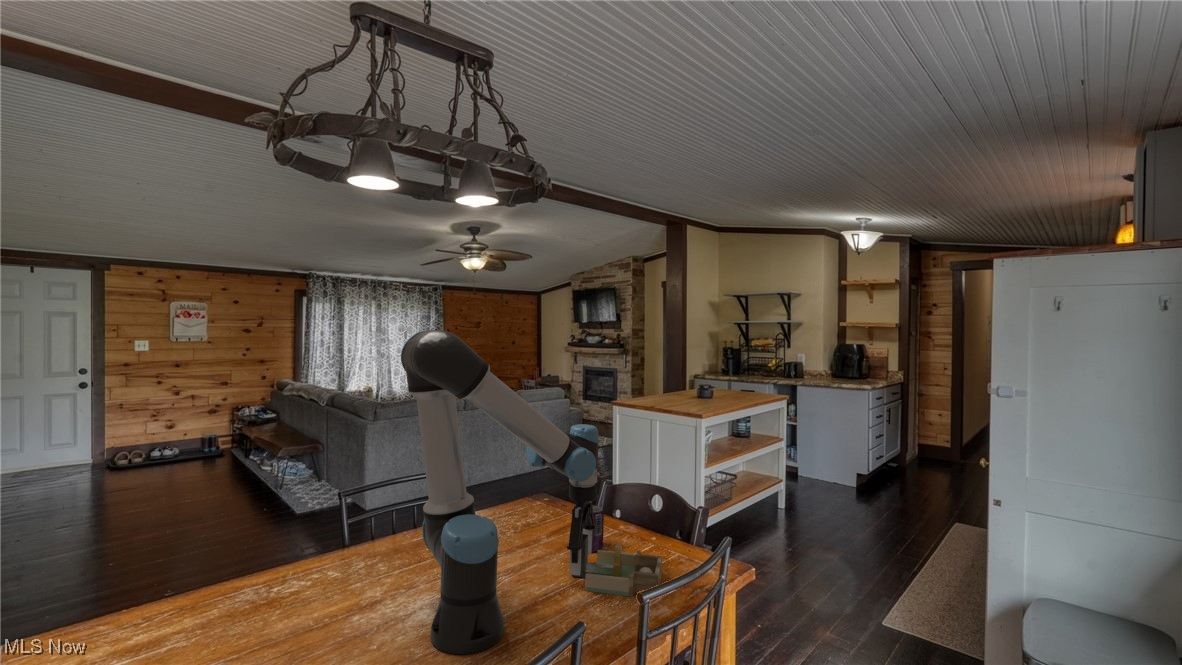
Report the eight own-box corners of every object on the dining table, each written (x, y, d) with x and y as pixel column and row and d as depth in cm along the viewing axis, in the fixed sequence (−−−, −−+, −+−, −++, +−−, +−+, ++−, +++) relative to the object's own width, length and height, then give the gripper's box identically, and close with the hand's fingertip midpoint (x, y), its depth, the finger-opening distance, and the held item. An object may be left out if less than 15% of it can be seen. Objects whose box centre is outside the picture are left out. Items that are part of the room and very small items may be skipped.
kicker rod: (618, 584, 137) (619, 545, 137) (570, 578, 139) (571, 539, 139) (622, 574, 142) (622, 536, 142) (575, 568, 145) (576, 531, 145)
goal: (657, 600, 129) (657, 579, 129) (628, 596, 131) (629, 576, 131) (662, 571, 145) (662, 553, 145) (636, 568, 147) (637, 550, 147)
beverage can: (603, 544, 163) (604, 505, 163) (602, 554, 156) (603, 513, 156) (580, 543, 163) (581, 504, 163) (578, 552, 156) (579, 511, 156)
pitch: (628, 596, 131) (629, 580, 131) (585, 590, 133) (585, 574, 133) (636, 568, 147) (637, 554, 147) (597, 564, 149) (598, 549, 149)
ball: (640, 568, 136) (634, 582, 137) (655, 575, 136) (649, 589, 136) (642, 561, 140) (636, 575, 141) (656, 569, 139) (650, 582, 140)
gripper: (586, 498, 129) (584, 586, 129) (605, 472, 153) (603, 546, 153) (557, 495, 130) (554, 582, 130) (580, 470, 155) (578, 544, 155)
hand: (581, 563), depth 142 cm, fingers open, 13 cm apart
